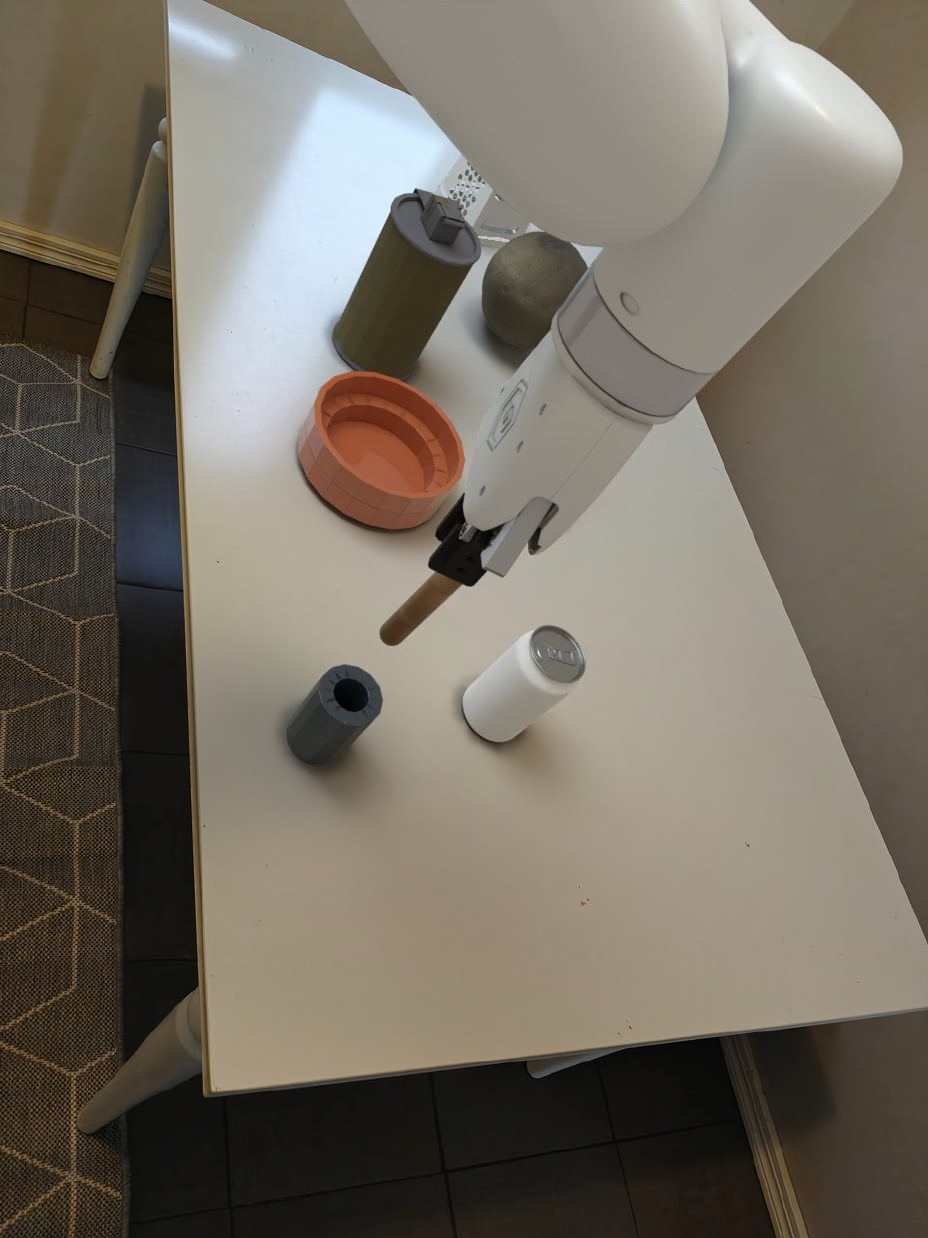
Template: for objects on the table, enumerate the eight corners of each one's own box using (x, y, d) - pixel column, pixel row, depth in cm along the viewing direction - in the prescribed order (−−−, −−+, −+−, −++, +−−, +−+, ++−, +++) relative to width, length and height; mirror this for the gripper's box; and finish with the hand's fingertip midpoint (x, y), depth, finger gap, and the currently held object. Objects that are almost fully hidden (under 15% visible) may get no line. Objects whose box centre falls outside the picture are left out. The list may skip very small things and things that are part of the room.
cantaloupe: (459, 284, 117) (514, 189, 106) (547, 326, 122) (608, 240, 111) (456, 349, 109) (515, 254, 98) (550, 392, 114) (616, 305, 103)
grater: (463, 242, 123) (535, 112, 109) (434, 192, 127) (500, 60, 112) (517, 249, 130) (593, 128, 115) (488, 202, 133) (557, 78, 119)
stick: (372, 643, 60) (499, 518, 48) (377, 623, 61) (502, 496, 50) (394, 654, 60) (524, 533, 49) (399, 634, 61) (527, 511, 50)
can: (457, 677, 82) (521, 614, 73) (515, 687, 84) (584, 627, 76) (463, 739, 78) (531, 681, 70) (523, 748, 81) (596, 692, 72)
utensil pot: (278, 753, 69) (311, 711, 63) (295, 699, 72) (328, 654, 66) (337, 775, 71) (374, 736, 65) (351, 720, 74) (388, 679, 68)
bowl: (275, 488, 83) (295, 448, 79) (317, 387, 93) (337, 346, 89) (425, 557, 88) (451, 523, 83) (449, 454, 98) (474, 418, 94)
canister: (423, 388, 102) (507, 251, 87) (343, 377, 96) (419, 228, 82) (399, 322, 106) (475, 182, 92) (321, 308, 101) (389, 155, 86)
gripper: (579, 217, 43) (421, 449, 57) (553, 407, 34) (370, 634, 47) (695, 292, 46) (517, 499, 59) (704, 492, 36) (488, 686, 49)
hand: (453, 558), depth 53 cm, fingers closed on stick, 1 cm apart
